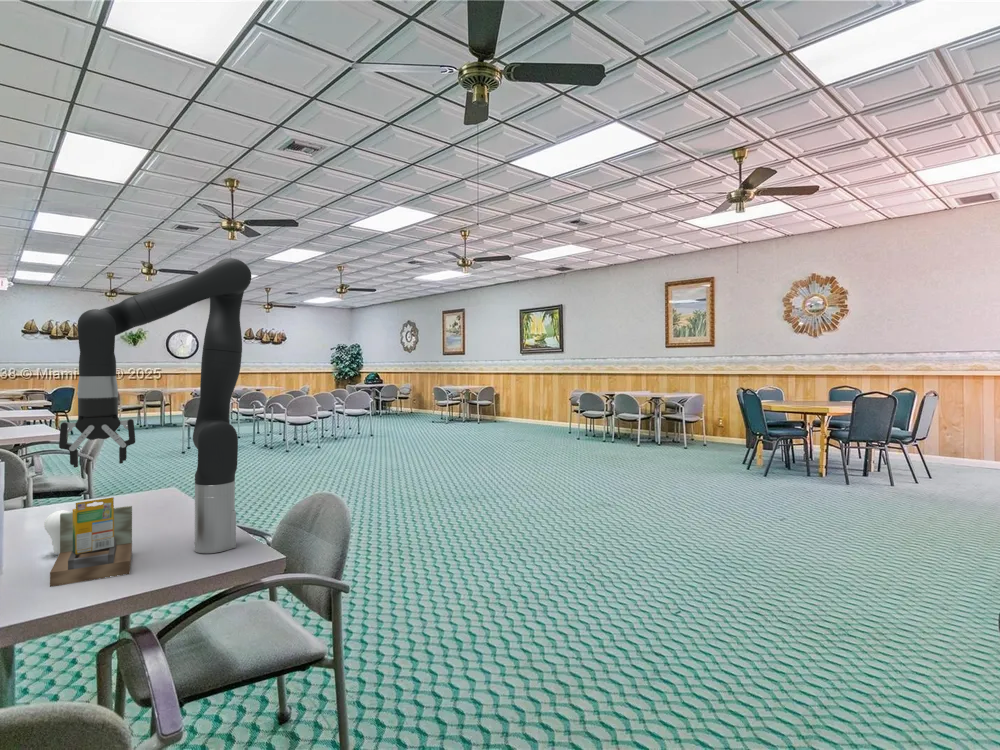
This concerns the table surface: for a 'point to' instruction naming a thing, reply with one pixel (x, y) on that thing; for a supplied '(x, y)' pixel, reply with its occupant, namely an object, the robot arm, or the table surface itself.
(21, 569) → the table surface
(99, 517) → the crayon box
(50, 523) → the lightbulb
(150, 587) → the table surface
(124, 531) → the display stand
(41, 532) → the table surface
